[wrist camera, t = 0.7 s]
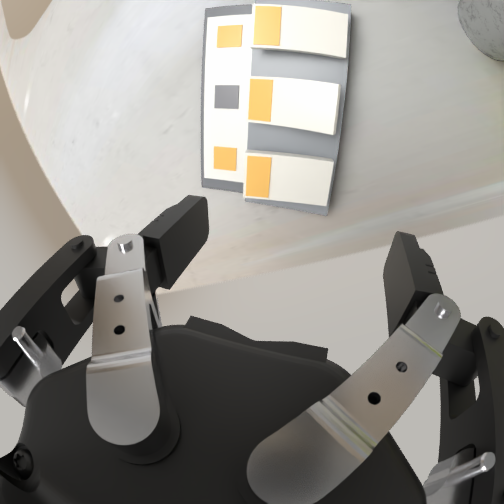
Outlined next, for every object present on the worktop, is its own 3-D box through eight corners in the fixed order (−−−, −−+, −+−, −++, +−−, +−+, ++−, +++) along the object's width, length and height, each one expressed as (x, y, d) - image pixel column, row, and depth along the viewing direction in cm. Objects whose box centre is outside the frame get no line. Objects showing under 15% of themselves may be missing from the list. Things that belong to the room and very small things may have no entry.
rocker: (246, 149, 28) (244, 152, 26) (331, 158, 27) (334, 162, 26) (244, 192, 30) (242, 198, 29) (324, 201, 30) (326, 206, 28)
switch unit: (208, 10, 23) (196, 4, 21) (349, 13, 20) (351, 4, 17) (204, 184, 38) (193, 193, 35) (328, 204, 34) (327, 216, 31)
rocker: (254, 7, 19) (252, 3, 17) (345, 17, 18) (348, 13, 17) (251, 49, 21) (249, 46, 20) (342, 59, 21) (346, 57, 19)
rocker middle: (254, 76, 24) (247, 75, 23) (341, 85, 21) (338, 84, 20) (252, 120, 27) (245, 121, 26) (335, 133, 24) (332, 135, 23)
